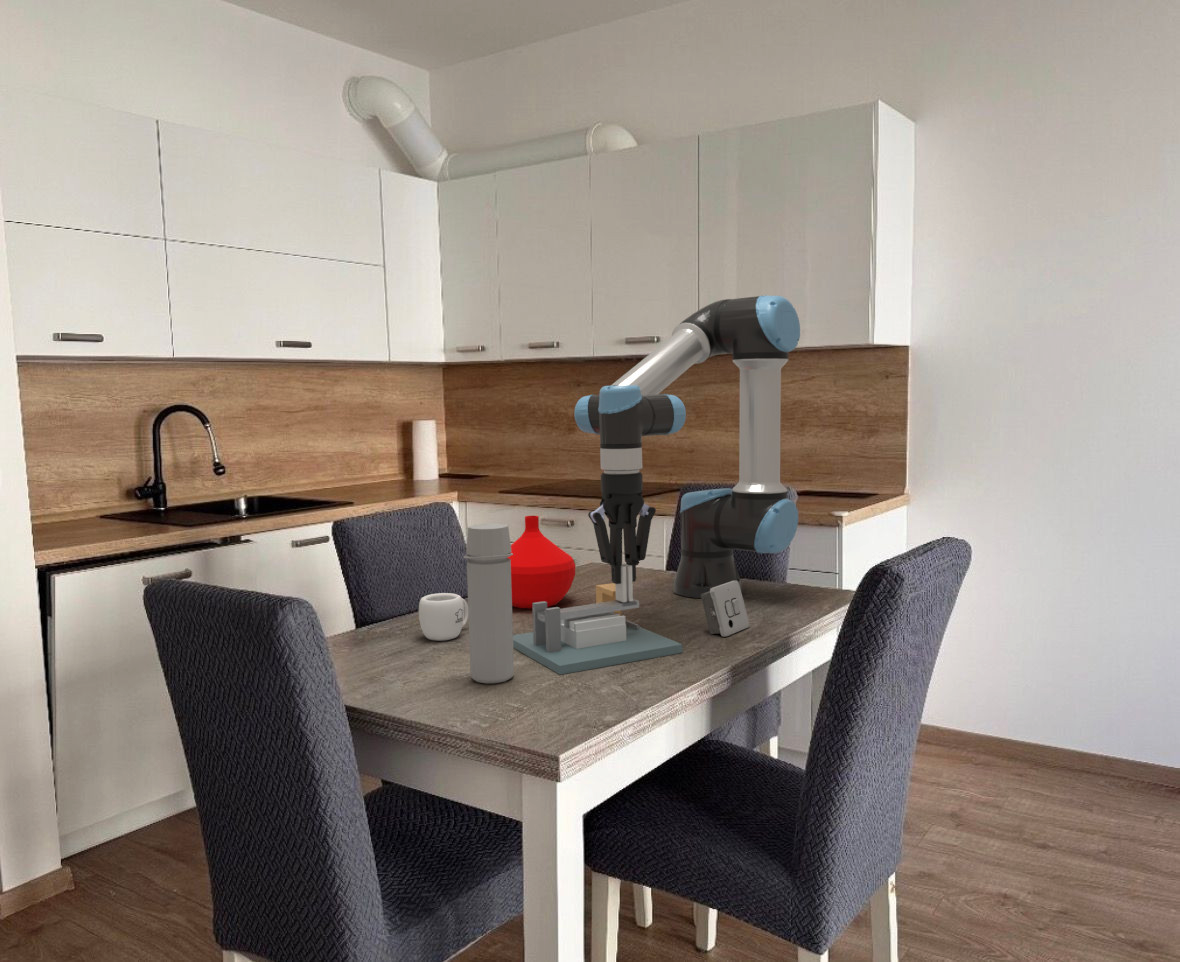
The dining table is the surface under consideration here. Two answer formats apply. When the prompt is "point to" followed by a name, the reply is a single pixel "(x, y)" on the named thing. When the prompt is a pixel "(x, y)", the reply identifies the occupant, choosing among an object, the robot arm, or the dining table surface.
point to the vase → (538, 568)
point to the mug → (442, 615)
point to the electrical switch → (725, 609)
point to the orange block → (606, 594)
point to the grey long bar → (592, 609)
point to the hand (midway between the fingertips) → (624, 600)
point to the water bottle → (490, 603)
